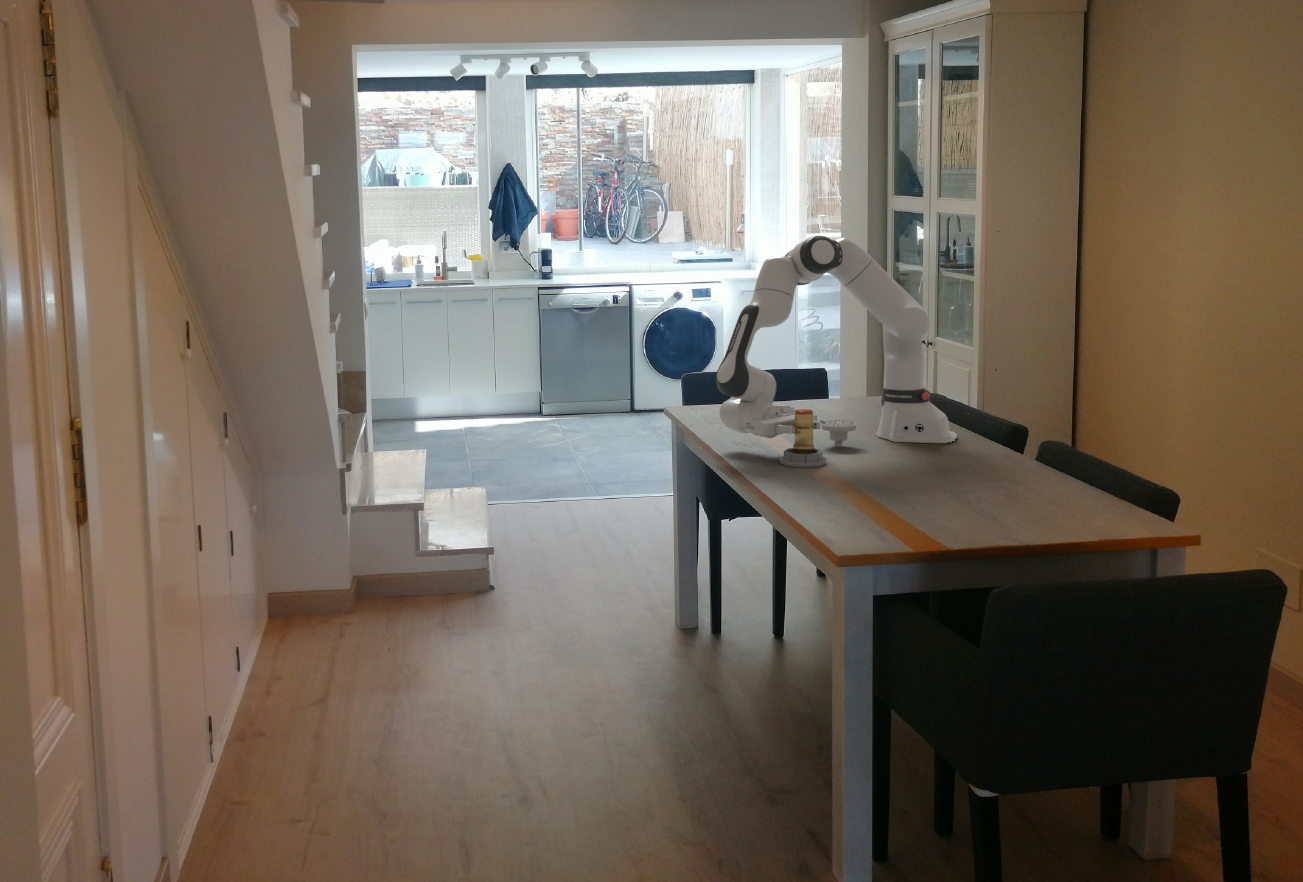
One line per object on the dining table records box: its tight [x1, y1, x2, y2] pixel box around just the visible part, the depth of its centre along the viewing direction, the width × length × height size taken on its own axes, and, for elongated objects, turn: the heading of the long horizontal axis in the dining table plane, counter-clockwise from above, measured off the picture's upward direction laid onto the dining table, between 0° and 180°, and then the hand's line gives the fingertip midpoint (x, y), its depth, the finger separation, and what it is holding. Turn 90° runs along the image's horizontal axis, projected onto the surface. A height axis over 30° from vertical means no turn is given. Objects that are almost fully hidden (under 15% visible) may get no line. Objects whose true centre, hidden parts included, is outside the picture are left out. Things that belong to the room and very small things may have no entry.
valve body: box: [792, 408, 815, 454], centre depth 326 cm, size 5×5×13 cm
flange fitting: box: [779, 447, 827, 468], centre depth 327 cm, size 12×12×3 cm
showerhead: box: [819, 419, 857, 448], centre depth 348 cm, size 9×7×10 cm
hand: (806, 428), depth 324 cm, fingers open, 8 cm apart
